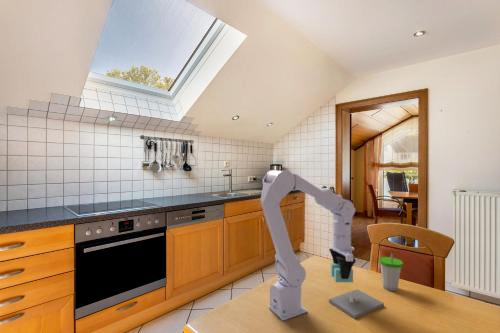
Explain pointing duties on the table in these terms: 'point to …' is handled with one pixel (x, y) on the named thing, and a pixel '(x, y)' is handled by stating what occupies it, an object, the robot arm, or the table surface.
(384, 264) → the cup
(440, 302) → the table surface
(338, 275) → the teal slotted block
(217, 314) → the table surface
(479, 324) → the table surface
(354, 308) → the post board
